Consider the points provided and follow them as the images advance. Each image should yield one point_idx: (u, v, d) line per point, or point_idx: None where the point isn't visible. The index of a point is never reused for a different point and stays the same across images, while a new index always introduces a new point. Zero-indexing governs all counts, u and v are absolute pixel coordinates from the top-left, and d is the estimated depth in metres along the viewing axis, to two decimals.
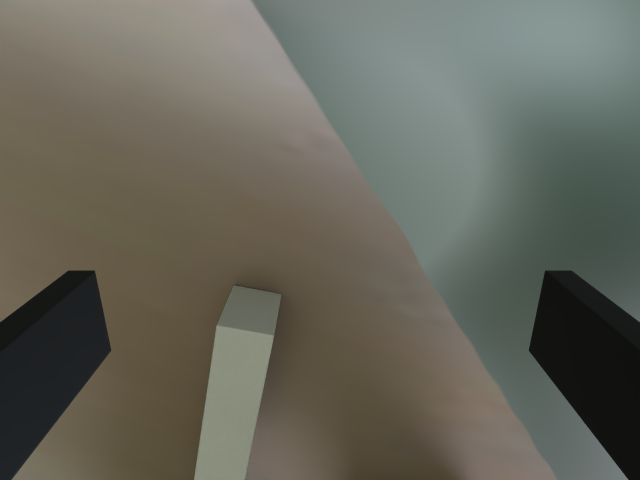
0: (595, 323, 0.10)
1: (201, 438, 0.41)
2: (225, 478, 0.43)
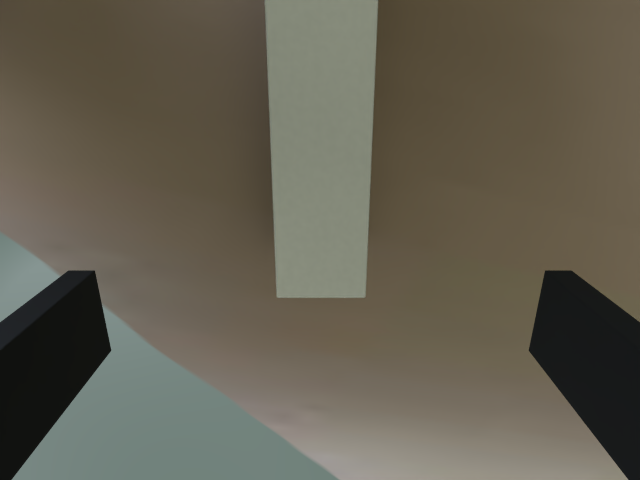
0: (595, 323, 0.10)
1: (373, 48, 0.19)
2: None
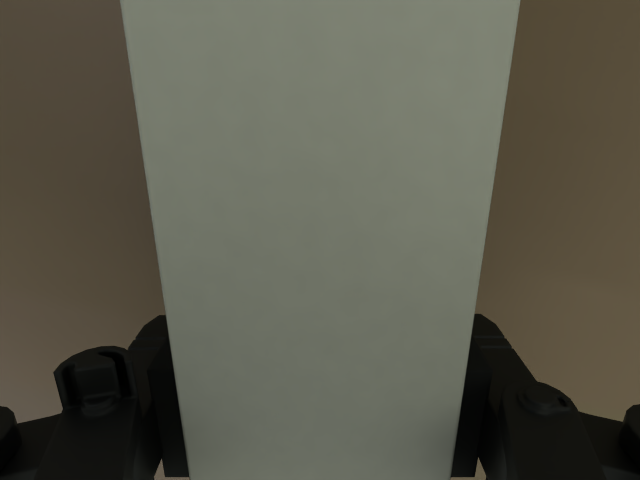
0: None
1: None
2: None
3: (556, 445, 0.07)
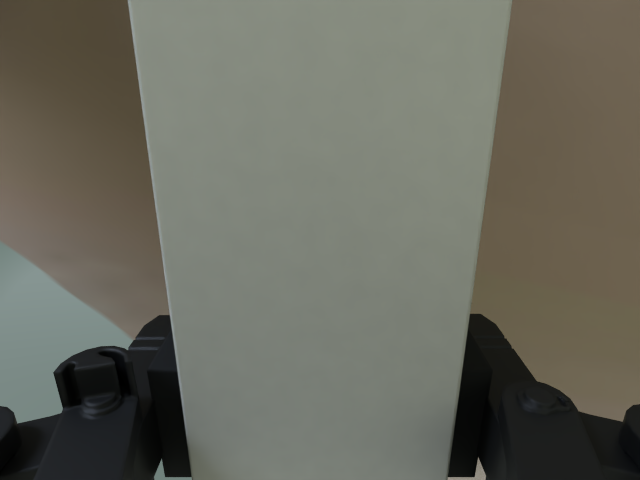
0: None
1: None
2: None
3: (556, 445, 0.07)
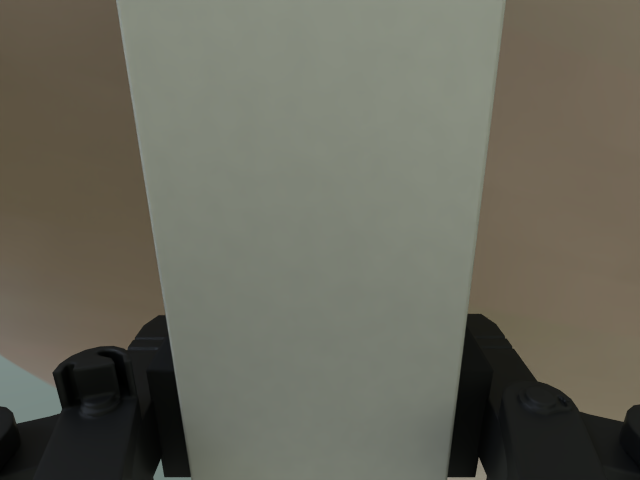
0: None
1: None
2: None
3: (557, 445, 0.07)
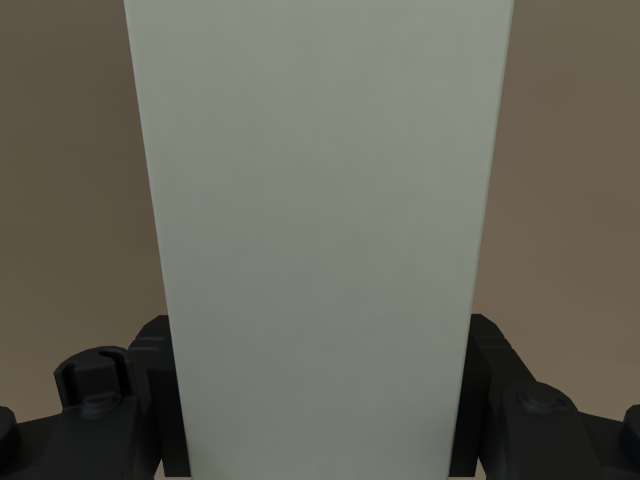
0: None
1: None
2: None
3: (556, 445, 0.07)
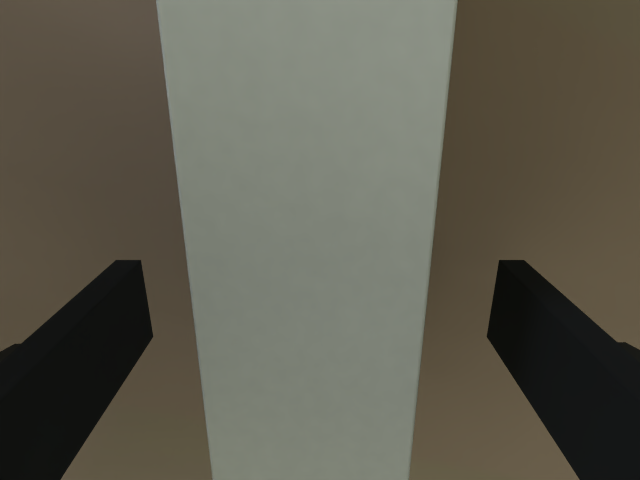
0: (536, 307, 0.11)
1: None
2: None
3: None
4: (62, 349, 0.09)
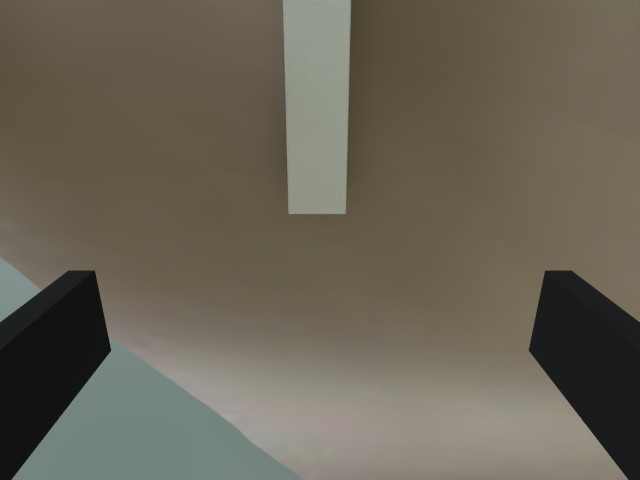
0: (595, 323, 0.10)
1: (348, 53, 0.32)
2: None
3: None
4: None
